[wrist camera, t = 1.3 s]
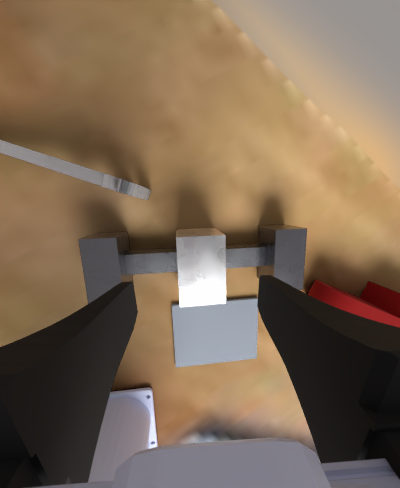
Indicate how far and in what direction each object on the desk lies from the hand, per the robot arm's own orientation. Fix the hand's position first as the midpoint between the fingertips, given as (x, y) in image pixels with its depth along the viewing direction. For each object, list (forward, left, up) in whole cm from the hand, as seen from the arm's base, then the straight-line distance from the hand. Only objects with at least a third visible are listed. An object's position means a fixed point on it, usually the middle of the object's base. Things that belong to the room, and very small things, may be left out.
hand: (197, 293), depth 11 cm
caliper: (+9, +13, -11) cm, 20 cm away
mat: (-10, -3, -11) cm, 15 cm away
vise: (-1, -1, -11) cm, 11 cm away
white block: (-1, -1, -11) cm, 11 cm away
